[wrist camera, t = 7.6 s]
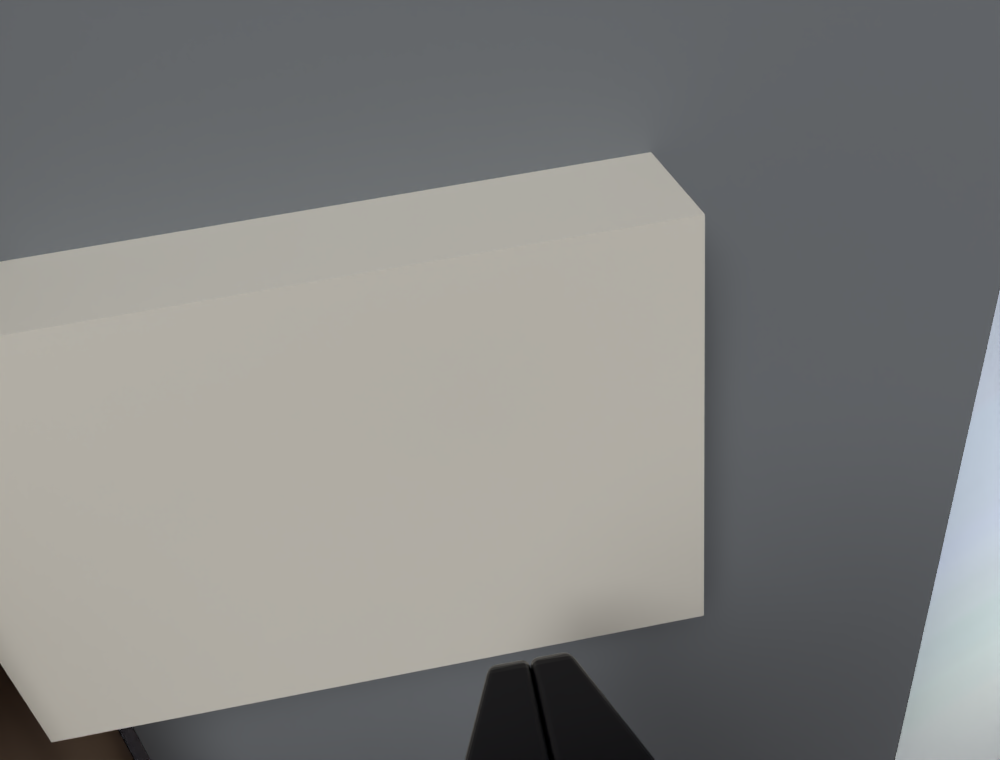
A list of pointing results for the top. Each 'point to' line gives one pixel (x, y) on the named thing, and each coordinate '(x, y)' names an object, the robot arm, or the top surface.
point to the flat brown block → (27, 749)
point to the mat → (728, 292)
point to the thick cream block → (350, 443)
